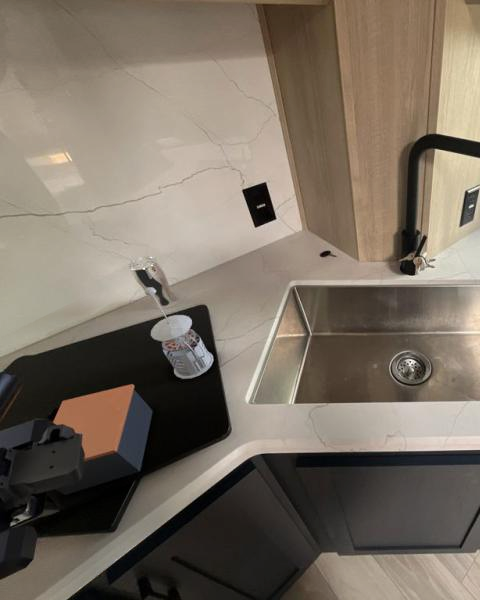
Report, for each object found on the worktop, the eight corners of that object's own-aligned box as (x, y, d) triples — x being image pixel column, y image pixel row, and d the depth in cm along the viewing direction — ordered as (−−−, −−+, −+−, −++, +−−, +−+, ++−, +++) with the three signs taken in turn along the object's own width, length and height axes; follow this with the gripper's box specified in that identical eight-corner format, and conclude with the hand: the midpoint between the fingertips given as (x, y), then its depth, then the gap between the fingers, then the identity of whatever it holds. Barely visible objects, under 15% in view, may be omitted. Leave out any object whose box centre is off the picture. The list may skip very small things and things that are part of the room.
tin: (90, 429, 68) (63, 406, 62) (153, 412, 72) (133, 389, 66) (67, 495, 59) (32, 476, 53) (141, 472, 62) (117, 452, 56)
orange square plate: (65, 403, 63) (62, 400, 62) (134, 386, 66) (132, 383, 66) (32, 476, 53) (29, 474, 52) (116, 452, 56) (114, 449, 56)
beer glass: (176, 293, 102) (154, 253, 92) (181, 305, 98) (159, 264, 88) (150, 302, 98) (125, 261, 89) (155, 314, 95) (129, 273, 85)
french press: (199, 345, 86) (157, 269, 70) (229, 362, 83) (192, 286, 66) (163, 370, 80) (108, 293, 64) (194, 391, 76) (143, 314, 60)
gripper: (34, 525, 32) (121, 547, 43) (61, 378, 43) (125, 426, 55) (-130, 597, 28) (12, 602, 39) (-54, 415, 39) (40, 459, 50)
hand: (56, 509), depth 46 cm, fingers closed
